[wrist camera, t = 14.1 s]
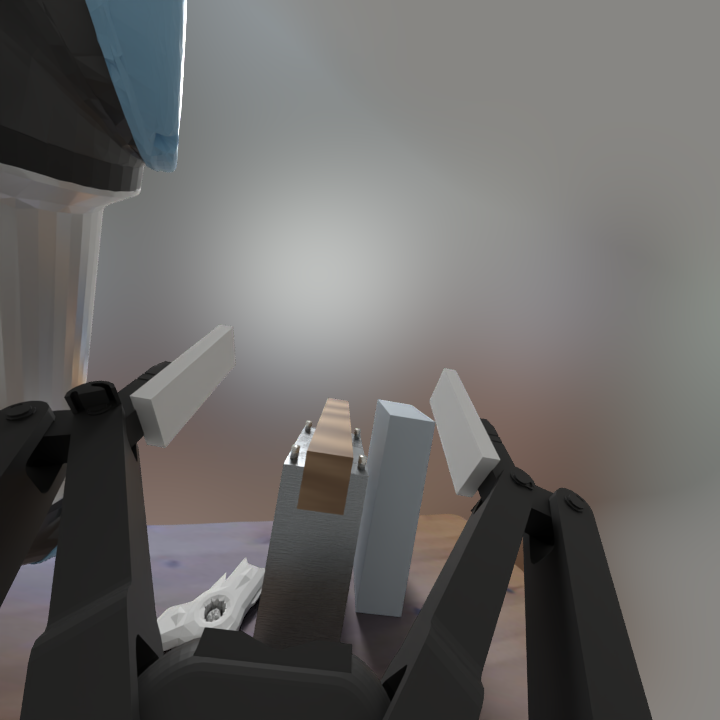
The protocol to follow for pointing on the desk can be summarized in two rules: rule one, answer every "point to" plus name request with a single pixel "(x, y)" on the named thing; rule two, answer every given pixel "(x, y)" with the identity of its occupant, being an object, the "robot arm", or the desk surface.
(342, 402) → the rail
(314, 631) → the plate
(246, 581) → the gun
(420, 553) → the desk surface
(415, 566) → the desk surface
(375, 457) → the stand
